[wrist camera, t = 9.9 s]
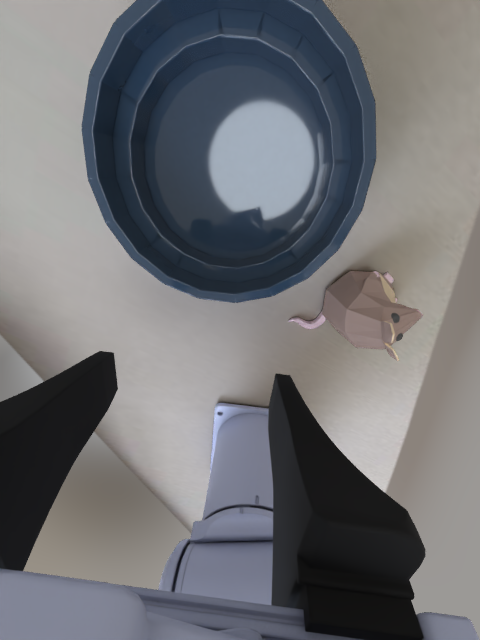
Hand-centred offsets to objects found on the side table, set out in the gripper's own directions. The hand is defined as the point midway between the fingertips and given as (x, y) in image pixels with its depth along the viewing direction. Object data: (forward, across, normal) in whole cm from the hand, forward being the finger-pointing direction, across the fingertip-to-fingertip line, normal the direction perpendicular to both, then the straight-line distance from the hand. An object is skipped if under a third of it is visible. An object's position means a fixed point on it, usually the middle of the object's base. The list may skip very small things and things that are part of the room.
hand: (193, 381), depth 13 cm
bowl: (+10, 0, -8) cm, 13 cm away
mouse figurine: (+11, -9, 0) cm, 14 cm away
